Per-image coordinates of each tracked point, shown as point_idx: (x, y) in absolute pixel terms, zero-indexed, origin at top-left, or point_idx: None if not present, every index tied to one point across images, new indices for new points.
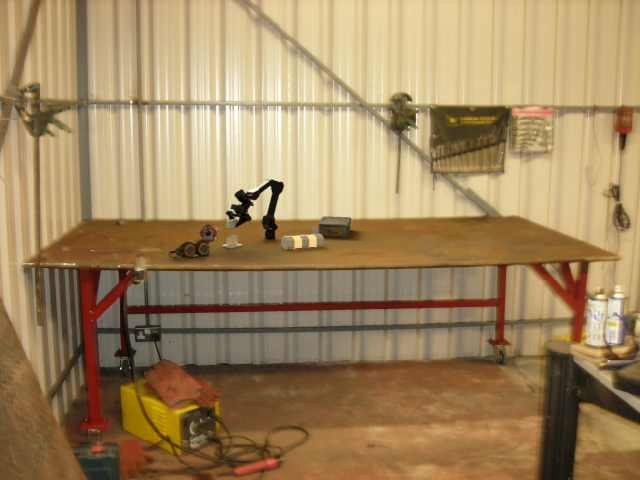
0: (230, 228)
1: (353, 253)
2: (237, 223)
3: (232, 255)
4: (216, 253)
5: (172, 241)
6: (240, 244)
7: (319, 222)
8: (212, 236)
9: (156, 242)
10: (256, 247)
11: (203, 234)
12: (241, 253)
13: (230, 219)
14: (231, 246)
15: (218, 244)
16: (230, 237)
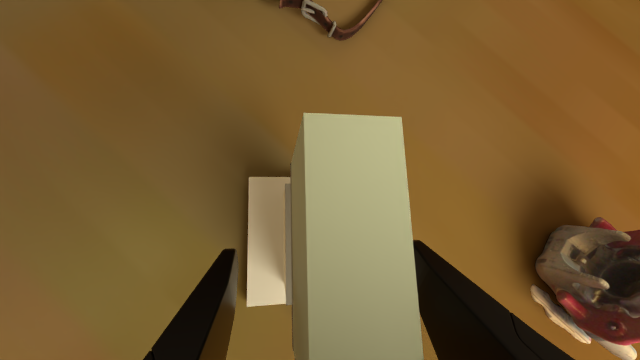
0: (290, 188)
1: None
2: (187, 305)
3: (64, 24)
4: (205, 12)
5: (623, 98)
6: (257, 293)
7: None
8: (573, 288)
9: (636, 37)
10: (106, 355)
11: (626, 247)
12: (52, 106)
13: (507, 353)
14: (254, 188)
15: (412, 213)
16: (285, 199)
